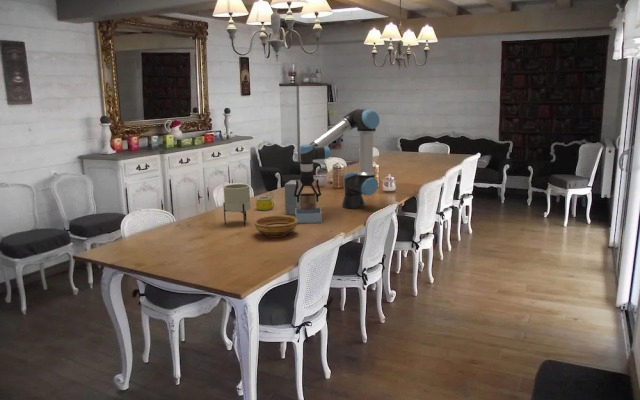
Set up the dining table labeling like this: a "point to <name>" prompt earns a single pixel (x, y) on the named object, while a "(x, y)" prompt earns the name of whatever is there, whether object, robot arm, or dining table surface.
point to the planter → (237, 199)
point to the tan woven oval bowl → (275, 225)
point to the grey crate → (308, 215)
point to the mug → (265, 202)
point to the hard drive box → (291, 197)
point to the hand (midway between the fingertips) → (307, 207)
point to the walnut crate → (307, 201)
